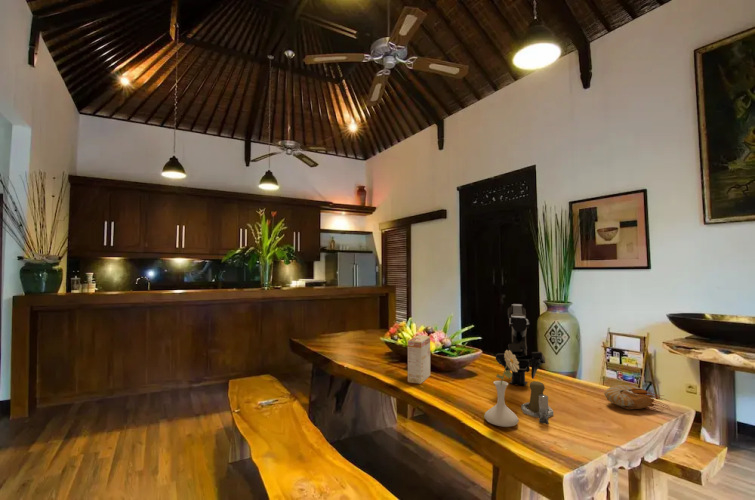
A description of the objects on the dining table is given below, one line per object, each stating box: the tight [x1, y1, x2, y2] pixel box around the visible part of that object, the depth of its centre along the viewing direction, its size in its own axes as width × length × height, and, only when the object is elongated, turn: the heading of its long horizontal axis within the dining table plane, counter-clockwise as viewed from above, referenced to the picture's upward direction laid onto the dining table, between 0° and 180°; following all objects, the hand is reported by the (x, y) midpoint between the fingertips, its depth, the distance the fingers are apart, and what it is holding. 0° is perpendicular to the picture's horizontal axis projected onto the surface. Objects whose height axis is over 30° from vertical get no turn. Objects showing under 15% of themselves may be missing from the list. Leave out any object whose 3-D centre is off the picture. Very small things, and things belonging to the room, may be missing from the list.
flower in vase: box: [483, 349, 520, 428], centre depth 127 cm, size 13×11×25 cm
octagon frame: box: [520, 394, 554, 425], centre depth 134 cm, size 16×10×9 cm, turn 170°
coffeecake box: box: [407, 334, 431, 385], centre depth 176 cm, size 15×7×20 cm, turn 154°
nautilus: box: [603, 384, 671, 413], centre depth 140 cm, size 8×22×15 cm
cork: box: [528, 380, 546, 412], centre depth 137 cm, size 6×6×11 cm
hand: (520, 378), depth 147 cm, fingers open, 9 cm apart
